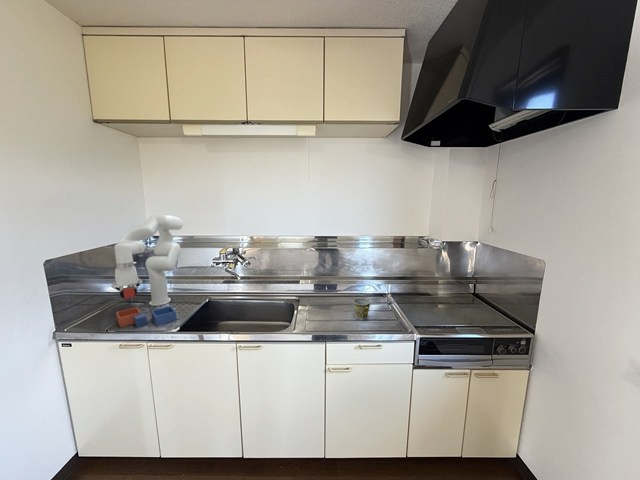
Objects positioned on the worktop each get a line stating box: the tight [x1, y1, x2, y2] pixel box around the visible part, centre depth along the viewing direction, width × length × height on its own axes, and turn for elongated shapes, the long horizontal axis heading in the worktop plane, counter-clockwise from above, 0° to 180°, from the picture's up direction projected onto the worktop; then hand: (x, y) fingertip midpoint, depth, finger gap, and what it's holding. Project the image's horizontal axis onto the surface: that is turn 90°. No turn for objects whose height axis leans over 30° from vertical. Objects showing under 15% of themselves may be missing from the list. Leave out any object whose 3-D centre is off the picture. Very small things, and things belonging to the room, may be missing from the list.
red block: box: [122, 285, 136, 300], centre depth 153 cm, size 5×5×5 cm
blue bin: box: [150, 305, 177, 327], centre depth 157 cm, size 10×10×6 cm
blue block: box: [134, 313, 148, 328], centre depth 151 cm, size 5×5×5 cm
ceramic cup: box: [352, 297, 371, 321], centre depth 158 cm, size 13×10×10 cm
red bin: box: [115, 306, 142, 328], centre depth 155 cm, size 10×10×6 cm
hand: (129, 296), depth 154 cm, fingers closed on red block, 5 cm apart
